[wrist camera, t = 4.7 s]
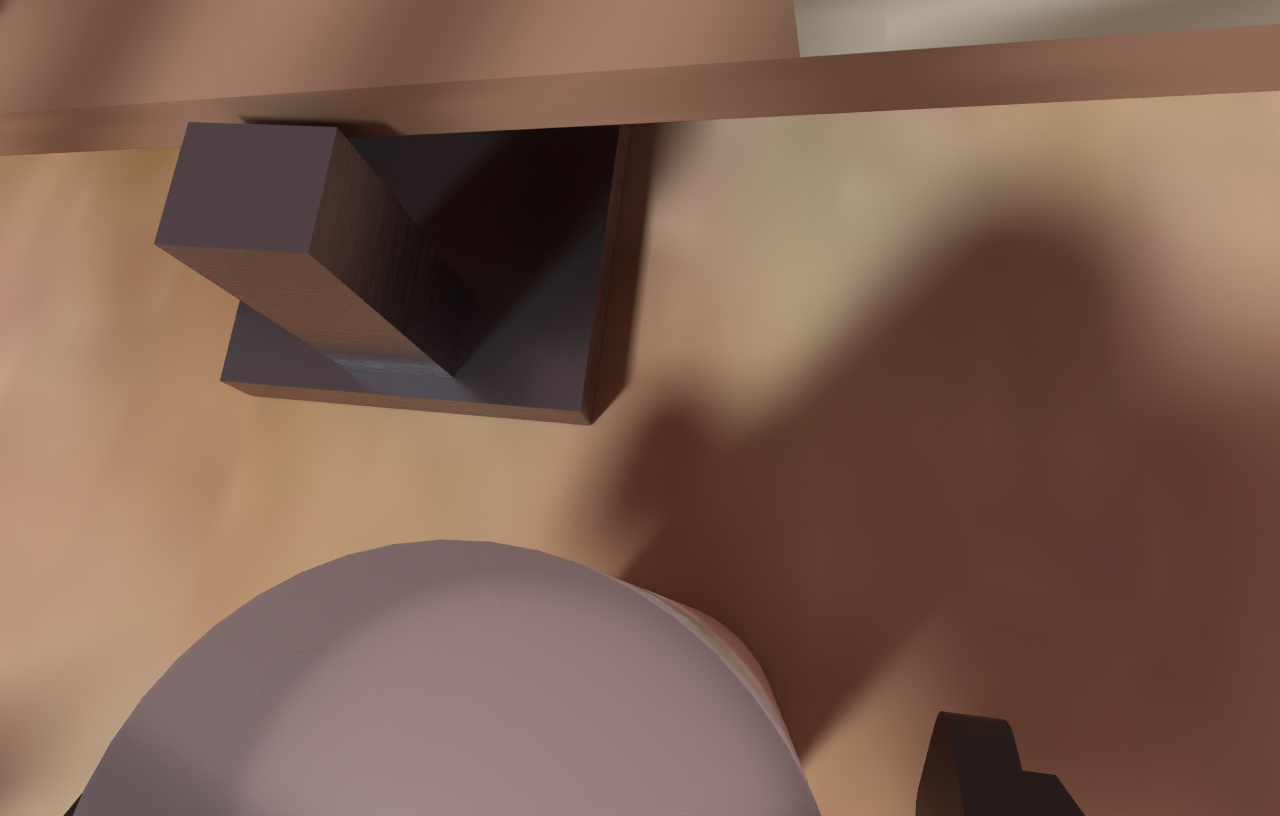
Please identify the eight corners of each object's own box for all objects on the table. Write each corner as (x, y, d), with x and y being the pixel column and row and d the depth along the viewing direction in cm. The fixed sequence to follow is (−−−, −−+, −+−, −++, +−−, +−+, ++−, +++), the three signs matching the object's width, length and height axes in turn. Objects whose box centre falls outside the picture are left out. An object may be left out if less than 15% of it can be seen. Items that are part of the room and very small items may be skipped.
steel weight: (508, 850, 16) (-88, 1398, 5) (544, 586, 17) (146, 504, 6) (769, 894, 15) (833, 1677, 4) (789, 615, 17) (882, 585, 5)
